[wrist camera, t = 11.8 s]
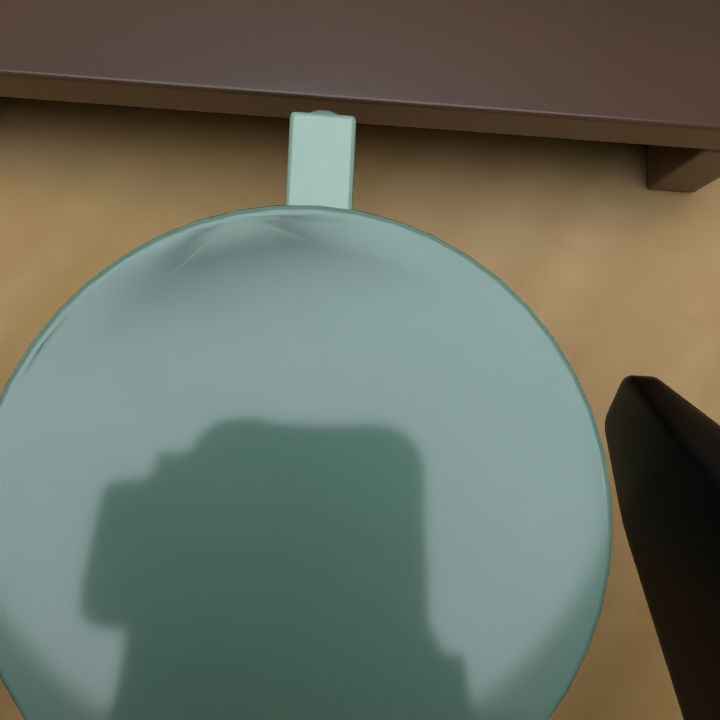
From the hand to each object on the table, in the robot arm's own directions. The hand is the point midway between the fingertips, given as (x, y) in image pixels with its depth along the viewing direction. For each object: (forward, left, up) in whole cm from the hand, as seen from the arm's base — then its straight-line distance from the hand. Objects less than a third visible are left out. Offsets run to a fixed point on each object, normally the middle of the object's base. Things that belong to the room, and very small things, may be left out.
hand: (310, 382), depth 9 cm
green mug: (-1, -1, -6) cm, 6 cm away
